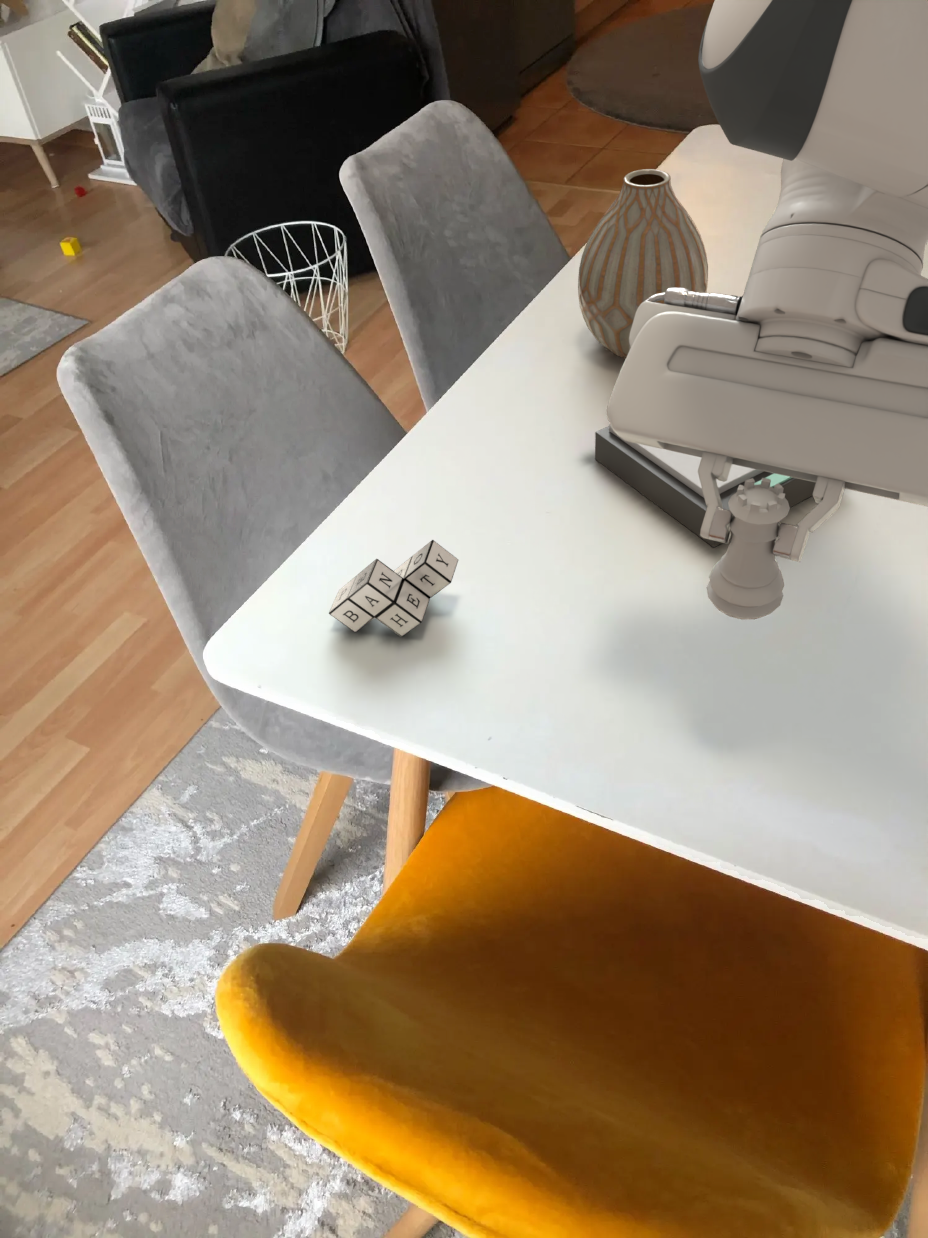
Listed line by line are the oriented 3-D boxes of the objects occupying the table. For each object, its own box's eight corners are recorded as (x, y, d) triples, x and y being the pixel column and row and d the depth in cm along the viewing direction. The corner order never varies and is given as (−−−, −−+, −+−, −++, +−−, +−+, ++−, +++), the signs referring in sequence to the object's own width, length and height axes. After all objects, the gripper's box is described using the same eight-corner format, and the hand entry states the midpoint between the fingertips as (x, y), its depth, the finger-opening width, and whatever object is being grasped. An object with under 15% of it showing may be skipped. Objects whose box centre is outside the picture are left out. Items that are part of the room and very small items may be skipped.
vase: (699, 378, 98) (716, 204, 85) (571, 374, 100) (569, 205, 88) (703, 315, 106) (719, 150, 94) (585, 313, 109) (585, 152, 97)
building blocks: (381, 651, 77) (443, 606, 72) (328, 613, 75) (387, 565, 70) (398, 605, 80) (458, 559, 75) (348, 568, 78) (406, 518, 73)
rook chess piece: (762, 634, 56) (782, 527, 50) (692, 605, 58) (704, 500, 52) (794, 589, 58) (817, 482, 52) (726, 563, 60) (741, 458, 54)
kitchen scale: (835, 483, 84) (843, 447, 81) (713, 547, 79) (718, 511, 77) (709, 405, 94) (712, 371, 91) (594, 458, 89) (595, 424, 87)
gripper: (632, 262, 54) (564, 498, 55) (1031, 319, 47) (944, 592, 48) (655, 300, 60) (593, 513, 61) (1013, 356, 52) (936, 600, 53)
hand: (749, 549), depth 54 cm, fingers closed on rook chess piece, 3 cm apart
